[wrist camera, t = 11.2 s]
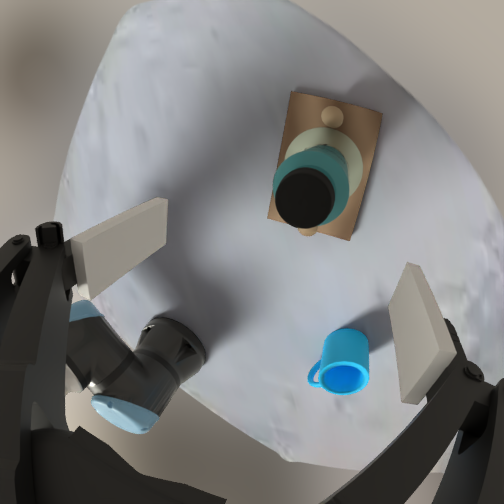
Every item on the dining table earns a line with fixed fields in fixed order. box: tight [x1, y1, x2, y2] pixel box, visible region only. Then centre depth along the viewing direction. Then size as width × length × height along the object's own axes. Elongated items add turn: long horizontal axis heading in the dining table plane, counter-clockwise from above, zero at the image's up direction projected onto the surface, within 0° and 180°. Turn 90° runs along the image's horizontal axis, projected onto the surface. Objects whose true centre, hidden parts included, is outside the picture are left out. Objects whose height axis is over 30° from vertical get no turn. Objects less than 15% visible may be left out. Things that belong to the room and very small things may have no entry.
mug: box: [308, 328, 369, 395], centre depth 45 cm, size 12×8×8 cm
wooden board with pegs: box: [267, 91, 383, 241], centre depth 34 cm, size 12×18×8 cm, turn 170°
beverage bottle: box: [273, 144, 350, 229], centre depth 27 cm, size 6×7×20 cm
